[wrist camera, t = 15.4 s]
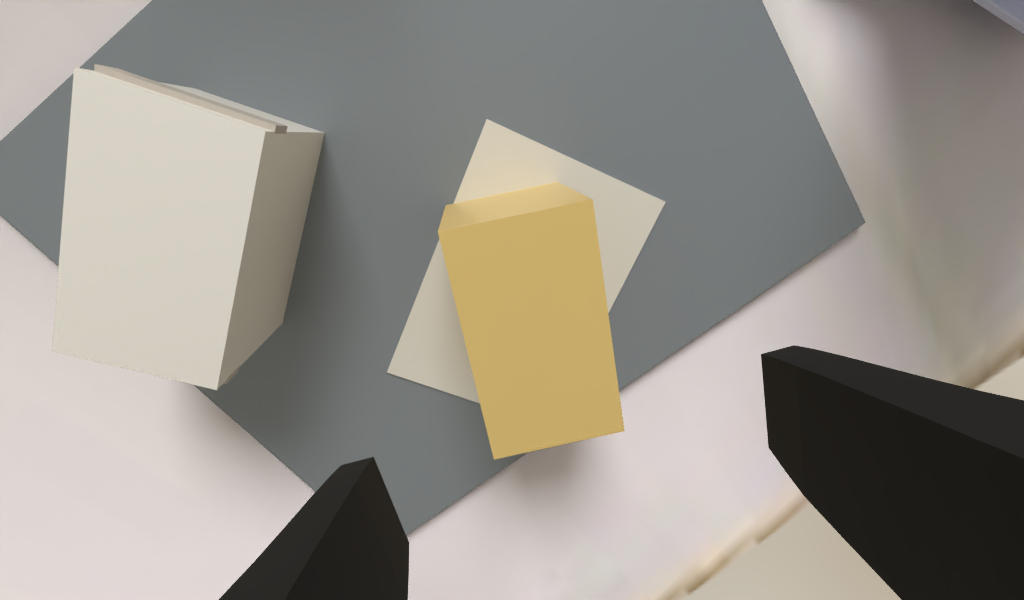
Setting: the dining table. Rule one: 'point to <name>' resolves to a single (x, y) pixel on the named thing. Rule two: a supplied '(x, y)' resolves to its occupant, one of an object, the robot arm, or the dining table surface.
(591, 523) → the dining table surface
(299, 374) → the baseplate
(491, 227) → the ochre brick
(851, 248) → the dining table surface
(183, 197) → the cream brick
